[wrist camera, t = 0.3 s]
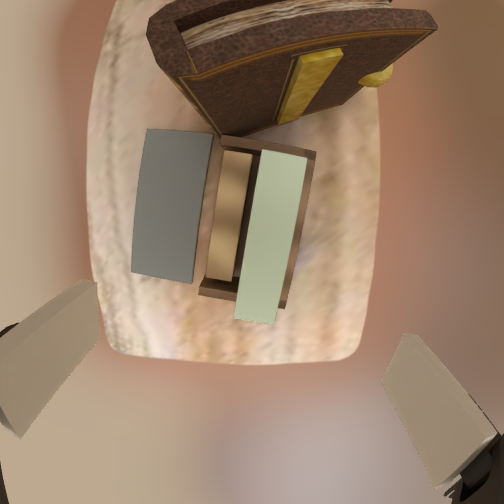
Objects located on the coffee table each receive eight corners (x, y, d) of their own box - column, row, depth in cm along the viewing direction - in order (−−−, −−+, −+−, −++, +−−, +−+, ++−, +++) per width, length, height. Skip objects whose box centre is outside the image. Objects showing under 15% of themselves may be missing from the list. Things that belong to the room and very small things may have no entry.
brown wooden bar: (227, 154, 37) (223, 150, 32) (252, 158, 37) (252, 154, 32) (210, 268, 41) (204, 281, 36) (233, 272, 41) (230, 285, 36)
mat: (149, 129, 36) (147, 128, 35) (213, 135, 36) (212, 134, 35) (133, 270, 41) (131, 272, 40) (192, 282, 41) (191, 284, 41)
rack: (226, 142, 36) (221, 134, 31) (307, 156, 37) (316, 151, 31) (205, 279, 41) (198, 294, 36) (280, 291, 42) (284, 308, 36)
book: (223, 152, 37) (172, 103, 13) (202, 102, 35) (136, 8, 11) (361, 106, 35) (467, 43, 10) (338, 59, 33) (411, -35, 9)
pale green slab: (259, 162, 37) (262, 149, 23) (287, 167, 37) (307, 158, 23) (240, 271, 41) (233, 318, 27) (267, 275, 41) (273, 324, 27)
